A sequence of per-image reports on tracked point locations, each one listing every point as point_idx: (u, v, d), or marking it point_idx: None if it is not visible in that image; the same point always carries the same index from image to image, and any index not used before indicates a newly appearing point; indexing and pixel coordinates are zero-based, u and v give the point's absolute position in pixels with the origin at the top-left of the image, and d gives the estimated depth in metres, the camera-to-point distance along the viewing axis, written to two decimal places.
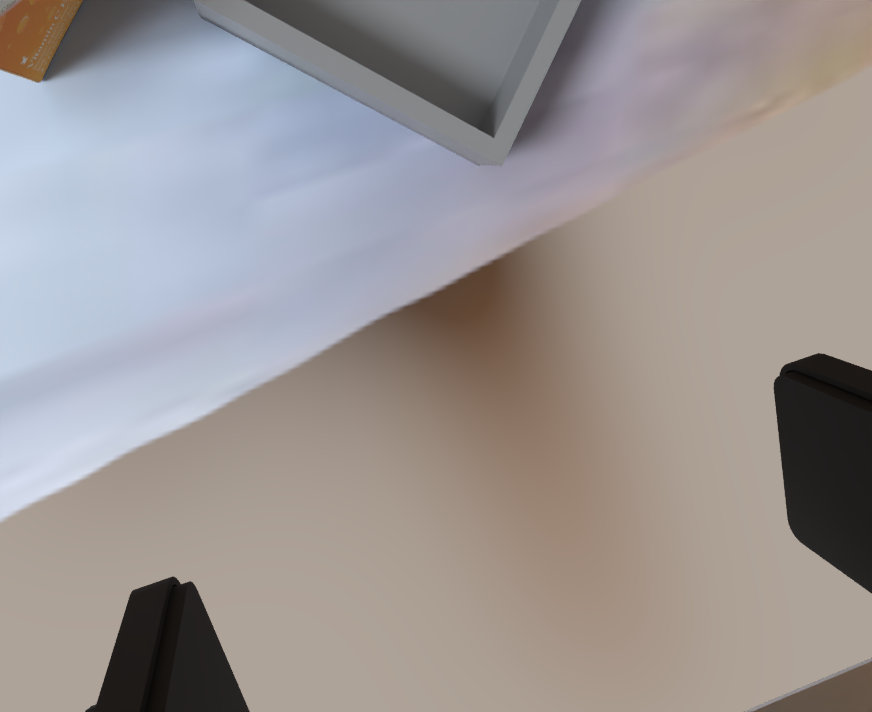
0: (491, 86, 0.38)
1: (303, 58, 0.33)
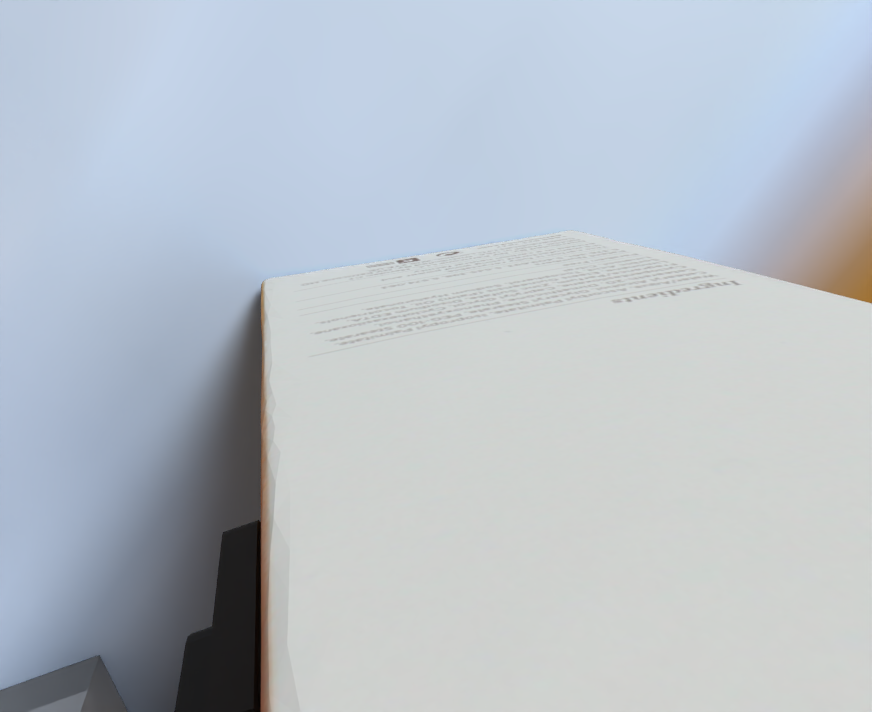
0: None
1: None
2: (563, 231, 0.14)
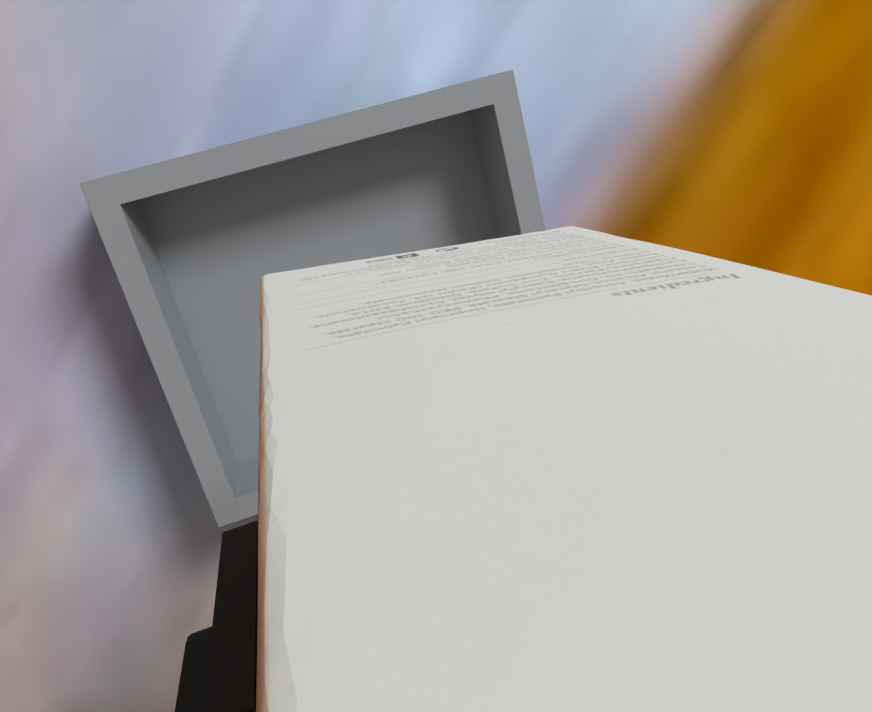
0: (173, 265, 0.29)
1: (380, 105, 0.26)
2: (562, 227, 0.14)
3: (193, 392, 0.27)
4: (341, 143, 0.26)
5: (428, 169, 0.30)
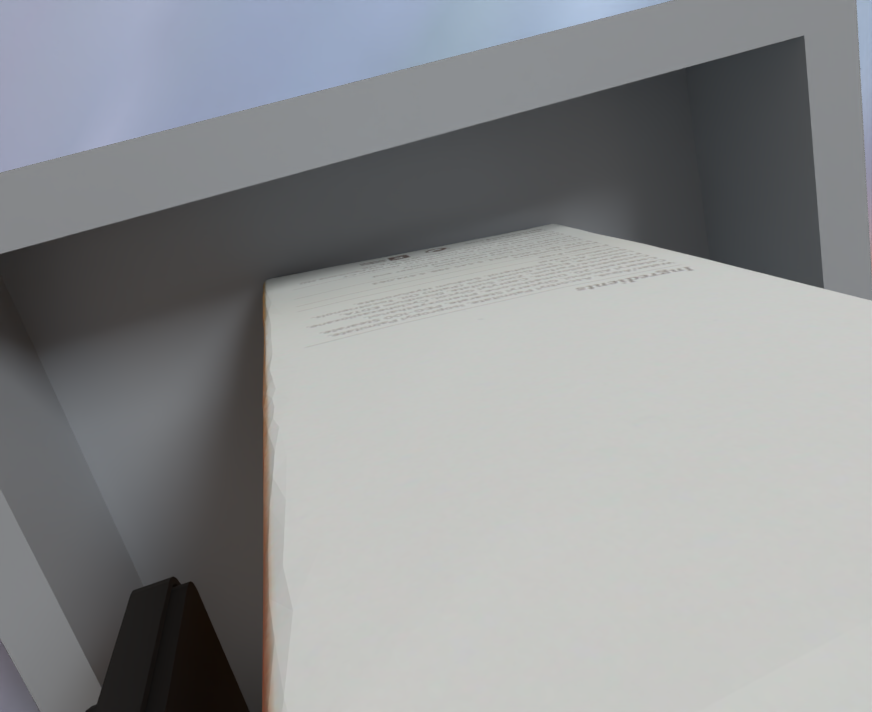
0: (78, 387, 0.14)
1: (551, 33, 0.11)
2: (545, 225, 0.15)
3: None
4: (458, 126, 0.11)
5: (599, 184, 0.15)
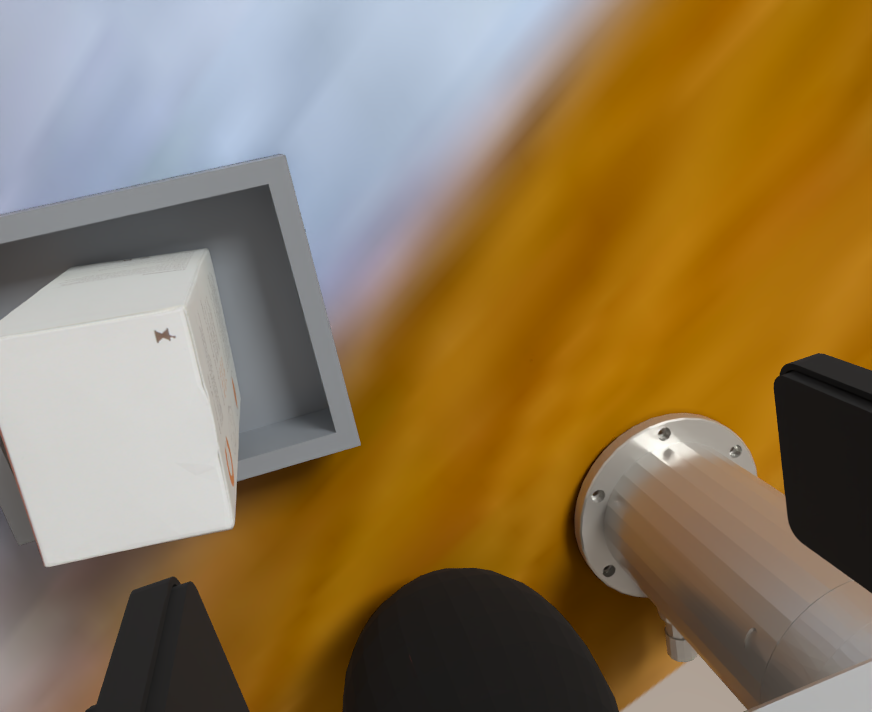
0: None
1: (162, 182, 0.30)
2: None
3: None
4: (125, 214, 0.30)
5: (229, 231, 0.34)
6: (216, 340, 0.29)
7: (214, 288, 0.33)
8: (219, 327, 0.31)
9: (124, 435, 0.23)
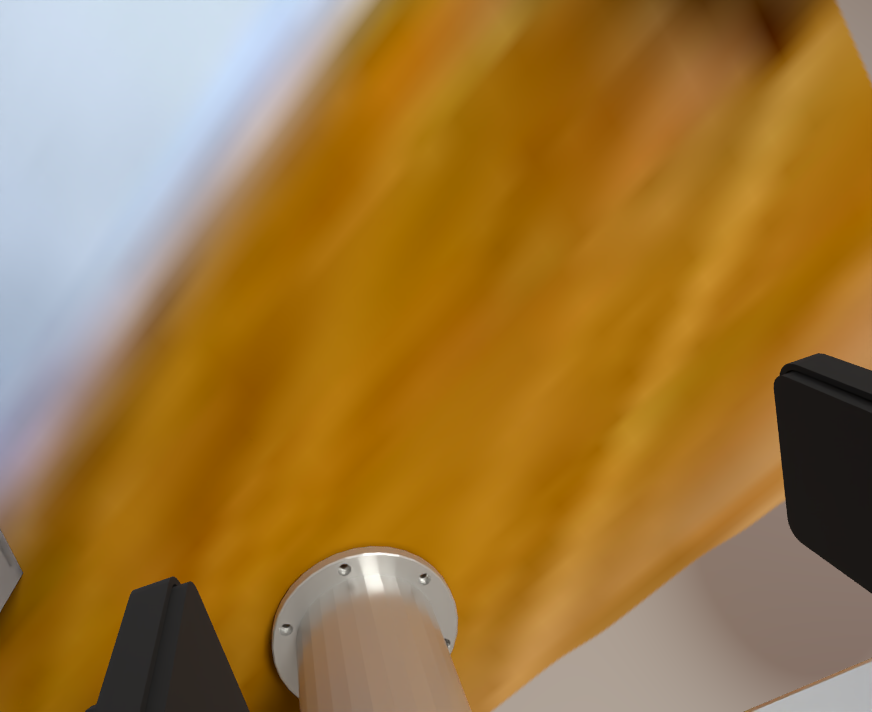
0: None
1: None
2: None
3: None
4: None
5: None
6: None
7: None
8: None
9: None
